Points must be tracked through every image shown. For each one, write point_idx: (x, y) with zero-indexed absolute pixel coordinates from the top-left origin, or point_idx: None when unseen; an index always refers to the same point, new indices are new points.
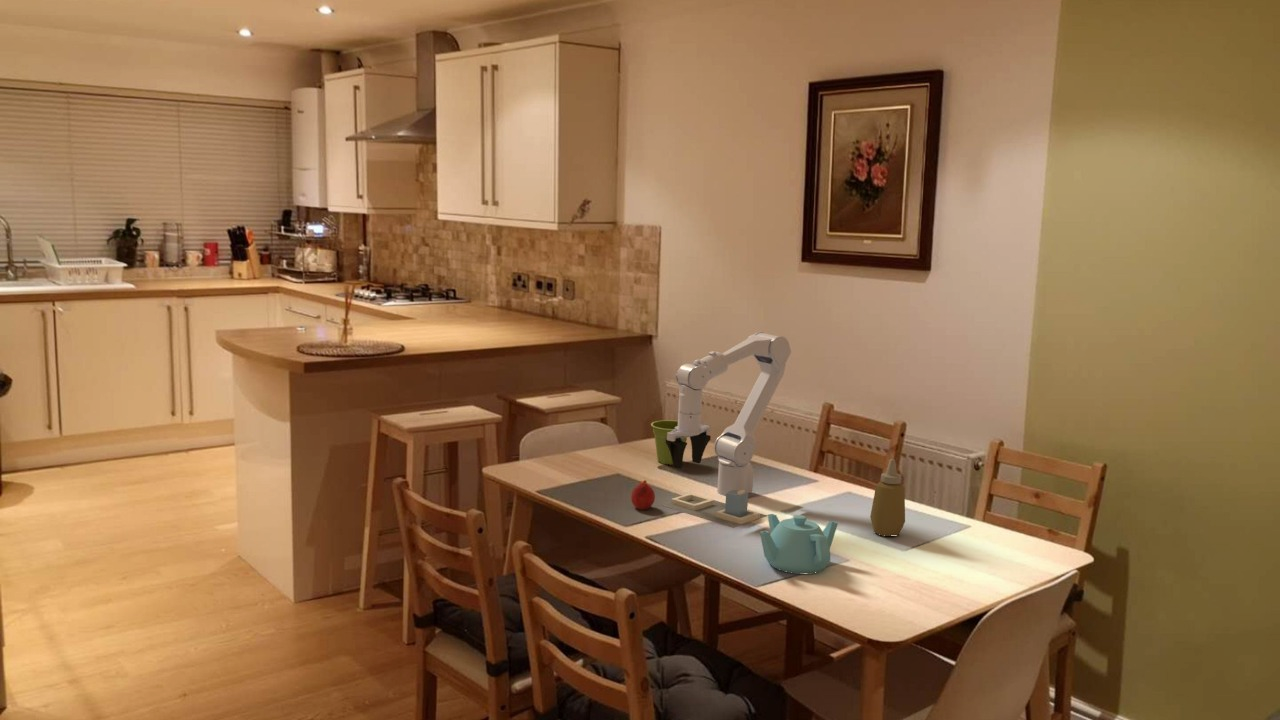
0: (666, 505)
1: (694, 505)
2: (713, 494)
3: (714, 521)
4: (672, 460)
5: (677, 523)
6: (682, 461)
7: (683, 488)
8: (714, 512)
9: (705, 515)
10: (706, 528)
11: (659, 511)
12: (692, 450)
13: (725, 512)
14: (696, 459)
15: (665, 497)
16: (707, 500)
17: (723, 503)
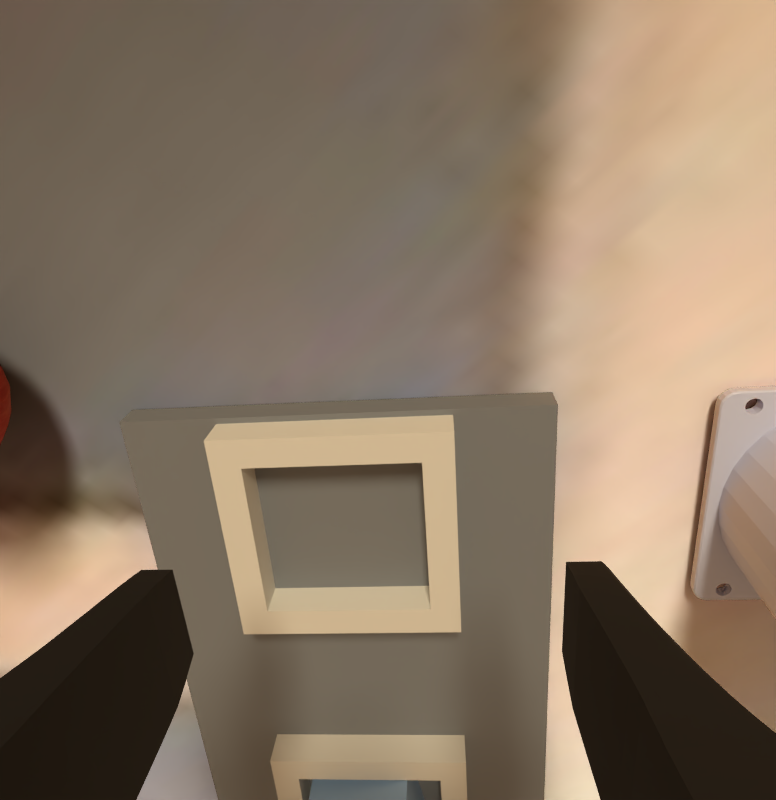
0: (153, 437)
1: (245, 629)
2: (770, 384)
3: (213, 769)
4: (79, 624)
5: (61, 628)
6: (155, 750)
7: (749, 79)
8: (332, 694)
9: (243, 695)
10: None
11: (95, 425)
12: (627, 676)
13: (310, 796)
14: (573, 653)
15: (373, 199)
16: (412, 614)
17: (535, 628)
